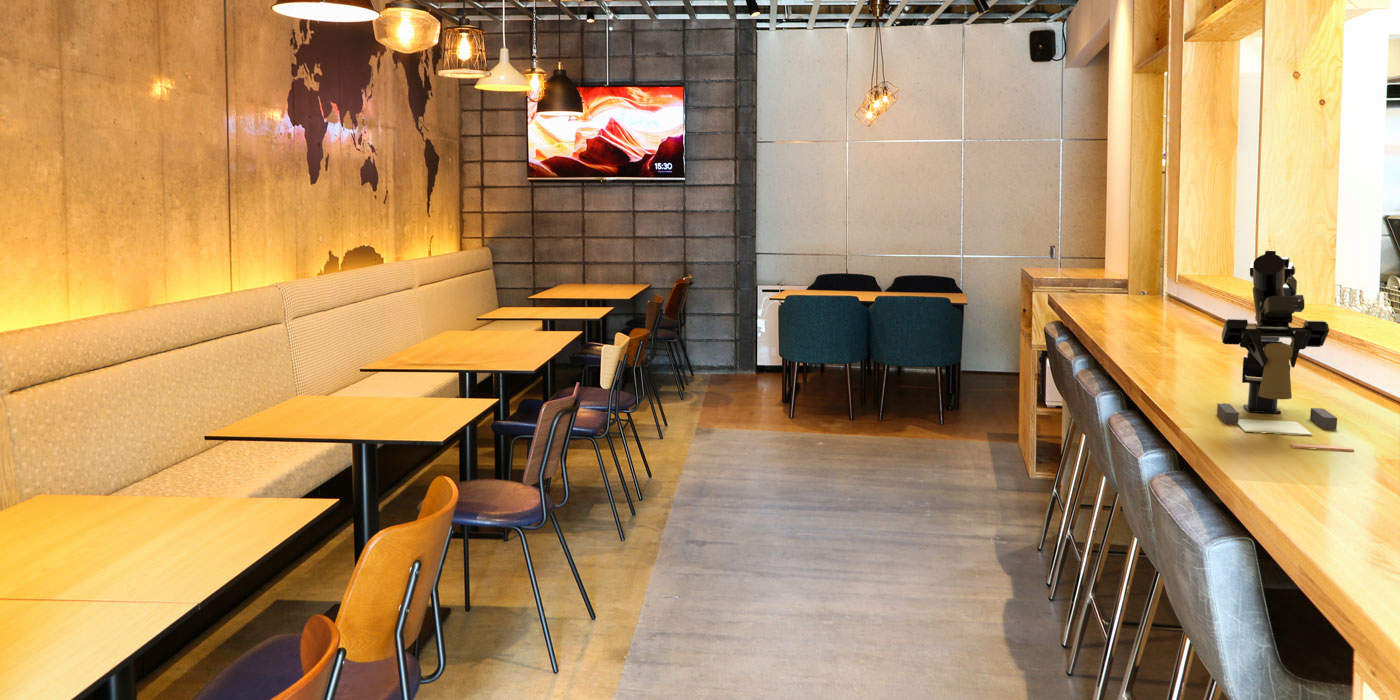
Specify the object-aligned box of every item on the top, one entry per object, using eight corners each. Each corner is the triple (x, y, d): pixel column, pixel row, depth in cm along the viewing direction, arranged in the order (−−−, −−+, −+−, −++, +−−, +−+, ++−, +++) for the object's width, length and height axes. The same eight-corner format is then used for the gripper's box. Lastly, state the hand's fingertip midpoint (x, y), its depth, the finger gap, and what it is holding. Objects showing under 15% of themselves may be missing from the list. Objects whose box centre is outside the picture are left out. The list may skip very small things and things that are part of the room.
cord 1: (1216, 414, 224) (1217, 403, 223) (1229, 414, 223) (1229, 404, 222) (1225, 423, 214) (1226, 412, 214) (1238, 424, 213) (1238, 413, 213)
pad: (1233, 420, 217) (1233, 418, 217) (1297, 423, 214) (1297, 421, 214) (1244, 432, 206) (1245, 430, 206) (1312, 436, 202) (1312, 434, 202)
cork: (1283, 393, 212) (1287, 341, 210) (1297, 399, 206) (1301, 345, 204) (1252, 393, 212) (1256, 341, 210) (1265, 399, 206) (1269, 345, 204)
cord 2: (1310, 419, 218) (1310, 407, 218) (1322, 419, 217) (1323, 408, 217) (1322, 428, 209) (1323, 417, 208) (1336, 429, 208) (1337, 418, 208)
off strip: (1290, 445, 195) (1290, 443, 195) (1350, 449, 192) (1350, 447, 192) (1293, 448, 193) (1293, 445, 193) (1353, 451, 190) (1354, 449, 190)
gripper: (1228, 280, 212) (1235, 340, 203) (1330, 281, 206) (1342, 343, 198) (1218, 313, 220) (1224, 372, 212) (1316, 315, 215) (1327, 376, 206)
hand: (1278, 365), depth 207 cm, fingers closed on cork, 5 cm apart
